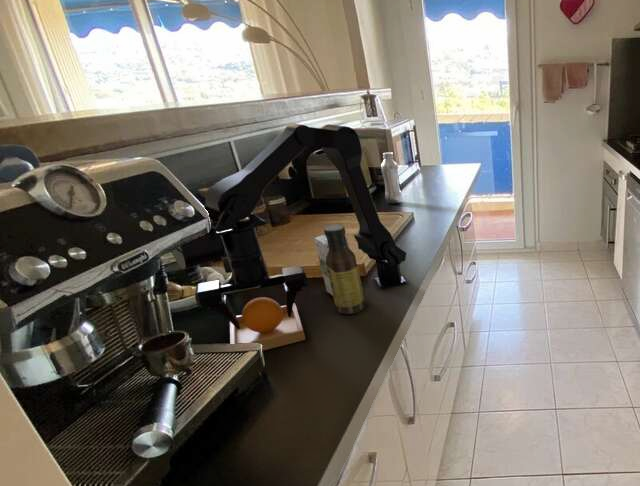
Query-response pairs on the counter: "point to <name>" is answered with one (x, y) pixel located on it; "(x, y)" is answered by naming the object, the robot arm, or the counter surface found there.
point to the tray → (270, 332)
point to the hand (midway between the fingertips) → (264, 322)
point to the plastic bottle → (391, 179)
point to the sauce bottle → (343, 272)
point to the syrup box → (324, 259)
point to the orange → (262, 314)
